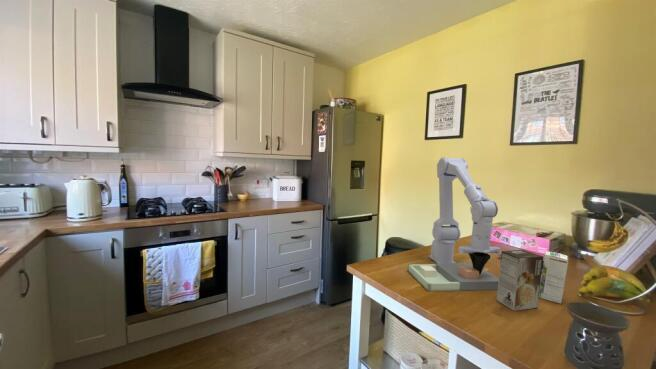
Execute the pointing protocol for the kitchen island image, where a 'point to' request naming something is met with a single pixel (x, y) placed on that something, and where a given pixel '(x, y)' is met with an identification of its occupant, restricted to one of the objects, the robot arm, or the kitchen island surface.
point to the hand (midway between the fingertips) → (477, 272)
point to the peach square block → (468, 272)
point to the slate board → (482, 283)
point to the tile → (427, 271)
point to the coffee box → (519, 279)
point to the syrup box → (553, 277)
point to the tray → (432, 279)
